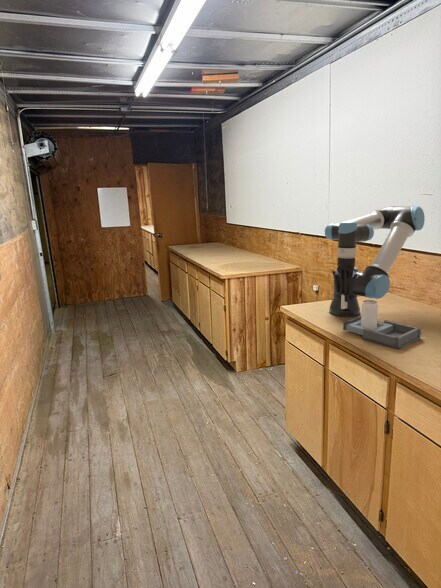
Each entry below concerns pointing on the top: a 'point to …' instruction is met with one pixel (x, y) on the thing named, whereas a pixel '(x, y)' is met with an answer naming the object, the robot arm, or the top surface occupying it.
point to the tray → (355, 327)
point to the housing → (394, 335)
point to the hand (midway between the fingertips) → (344, 308)
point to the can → (369, 314)
